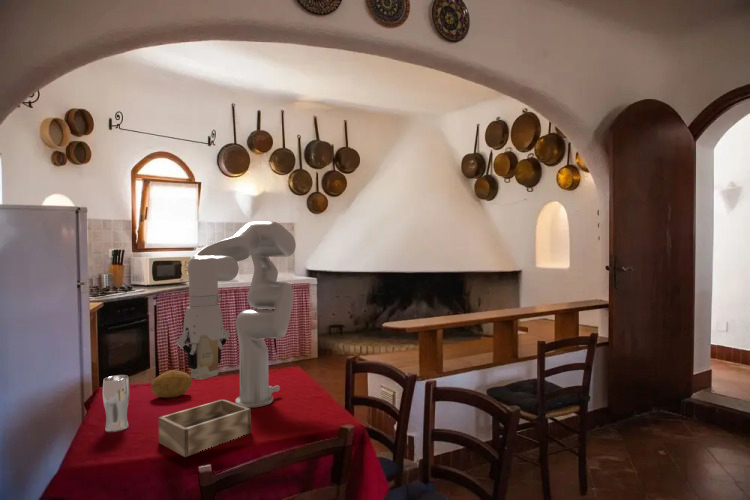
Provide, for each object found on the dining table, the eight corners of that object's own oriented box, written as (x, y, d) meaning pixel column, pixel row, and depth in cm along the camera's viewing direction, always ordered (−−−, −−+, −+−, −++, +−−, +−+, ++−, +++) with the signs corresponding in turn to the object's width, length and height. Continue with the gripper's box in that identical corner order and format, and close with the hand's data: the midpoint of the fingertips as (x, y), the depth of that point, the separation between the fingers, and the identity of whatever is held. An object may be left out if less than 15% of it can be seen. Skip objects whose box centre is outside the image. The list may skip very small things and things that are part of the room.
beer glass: (110, 424, 147) (109, 375, 147) (133, 423, 148) (133, 374, 148) (98, 433, 140) (97, 381, 140) (124, 432, 141) (123, 380, 141)
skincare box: (200, 380, 132) (199, 335, 132) (190, 378, 135) (189, 334, 134) (219, 374, 138) (218, 331, 137) (209, 372, 140) (208, 330, 140)
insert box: (223, 421, 149) (223, 398, 148) (250, 433, 140) (250, 408, 139) (158, 442, 133) (158, 417, 133) (184, 457, 124) (184, 429, 124)
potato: (153, 368, 176) (150, 372, 167) (193, 367, 180) (191, 371, 171) (152, 395, 175) (148, 401, 167) (191, 393, 179) (190, 399, 170)
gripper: (223, 297, 145) (224, 357, 145) (166, 303, 132) (167, 369, 132) (238, 299, 140) (239, 361, 140) (180, 305, 127) (181, 374, 127)
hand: (204, 364), depth 136 cm, fingers closed on skincare box, 6 cm apart
